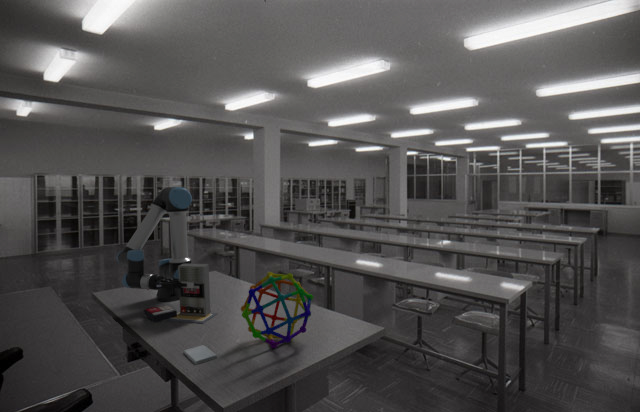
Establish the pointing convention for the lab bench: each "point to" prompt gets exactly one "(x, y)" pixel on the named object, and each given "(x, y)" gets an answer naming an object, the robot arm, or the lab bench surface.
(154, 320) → the calculator
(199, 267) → the grey instrument box
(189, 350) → the hard drive
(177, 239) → the robot arm
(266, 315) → the geometric model
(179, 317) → the picture board
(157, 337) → the lab bench surface
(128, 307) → the lab bench surface
